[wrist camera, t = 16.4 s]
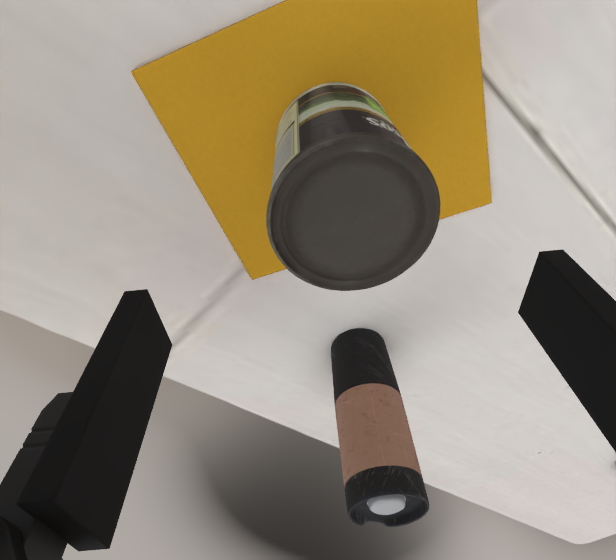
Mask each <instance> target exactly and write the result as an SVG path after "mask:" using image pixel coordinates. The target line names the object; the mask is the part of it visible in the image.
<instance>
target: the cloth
mask: <svg viewBox="0 0 616 560" xmlns="http://www.w3.org/2000/svg"><path fill="white" fill-rule="evenodd" d="M131 73H132V74H133V76H134V78H135V80H136V81H137V83H138V85H139V87H140V88H141V90H142V92H143V93H144V95H145V97H146V99H147V100H148V102H149V104H150V105H151V107H152V109H153V111H154V112H155V114H156V116H157V117H158V119H159V121H160V123H161V124H162V126H163V128H164V129H165V131H166V133H167V135H168V136H169V138H170V140H171V141H172V143H173V145H174V147H175V148H176V150H177V152H178V153H179V155H180V157H181V159H182V160H183V162H184V164H185V165H186V167H187V169H188V171H189V172H190V174H191V176H192V177H193V179H194V181H195V183H196V184H197V186H198V188H199V189H200V191H201V193H202V195H203V196H204V198H205V200H206V201H207V203H208V205H209V207H210V208H211V210H212V212H213V214H214V215H215V217H216V219H217V220H218V222H219V224H220V226H221V227H222V229H223V231H224V232H225V234H226V236H227V238H228V239H229V241H230V243H231V244H232V246H233V248H234V250H235V251H236V253H237V255H238V256H239V258H240V260H241V262H242V263H243V265H244V267H245V268H246V270H247V272H248V274H249V275H250V277H251V279H252V280H253V279H256V278H259V277H262V276H265V275H268V274H272V273H275V272H278V271H281V270H284V269H287V268H286V267H285V266H284V265H283V264H282V262H281V261H280V260H279V259H278V257H277V255H276V254H275V252H274V250H273V248H272V246H271V244H270V241H269V237H268V233H267V226H266V212H267V205H268V201H269V197H270V193H271V186H272V178H273V169H274V159H275V150H276V148H275V140H276V133H277V128H278V125H279V122H280V120H281V118H282V115H283V114H284V112H285V110H286V109H287V107H288V106H289V105H290V104H291V102H292V101H293V100H294V99H295V98H296V97H298V96H299V95H300V94H302V93H303V92H305V91H306V90H308V89H310V88H312V87H314V86H317V85H320V84H324V83H330V82H344V83H348V84H352V85H355V86H358V87H360V88H362V89H364V90H365V91H367V92H369V93H370V94H371V95H372V96H373V97H375V98H376V99H377V101H378V102H379V103H380V104H381V106H382V107H383V109H384V110H385V113H386V114H387V116H388V117H389V119H390V120H391V121H392V123H393V124H394V126H395V127H396V128H397V130H398V131H399V132H400V134H401V135H402V137H403V138H404V139H405V141H406V142H407V143H408V145H409V146H410V147H411V149H412V150H413V151H414V152H415V153H416V154H417V155H418V156H419V157H420V158H421V159H422V160H423V161H424V162H425V164H426V165H427V166H428V168H429V169H430V171H431V173H432V174H433V176H434V178H435V181H436V184H437V186H438V190H439V195H440V203H441V205H440V216H439V220H440V219H443V218H446V217H449V216H452V215H455V214H458V213H461V212H465V211H468V210H471V209H474V208H477V207H480V206H483V205H486V204H489V203H492V202H491V188H490V175H489V161H488V147H487V134H486V120H485V107H484V93H483V79H482V66H481V52H480V39H479V25H478V11H477V0H285V1H283V2H281V3H279V4H277V5H275V6H272V7H270V8H268V9H266V10H264V11H262V12H259V13H257V14H255V15H253V16H251V17H248V18H246V19H244V20H242V21H240V22H238V23H235V24H233V25H231V26H229V27H227V28H225V29H222V30H220V31H218V32H216V33H214V34H211V35H209V36H207V37H205V38H203V39H201V40H198V41H196V42H194V43H192V44H190V45H187V46H185V47H183V48H181V49H179V50H177V51H174V52H172V53H170V54H168V55H166V56H164V57H161V58H159V59H157V60H155V61H153V62H150V63H148V64H146V65H144V66H142V67H140V68H137V69H135V70H133V71H131Z"/></svg>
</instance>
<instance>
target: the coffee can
mask: <svg viewBox="0 0 616 560" xmlns="http://www.w3.org/2000/svg"><path fill="white" fill-rule="evenodd" d="M275 148H276V150H275V159H274V169H273V178H272V186H271V193H270V197H269V201H268V205H267V212H266V226H267V233H268V237H269V241H270V244H271V246H272V248H273V250H274V252H275V254H276V255H277V257H278V259H279V260H280V261H281V262H282V264H283V265H284V266H285V267H286V268H287V269H288V270H289V271H290V272H291V273H293V274H294V275H295V276H297V277H298V278H300V279H302V280H303V281H305V282H307V283H310V284H312V285H315V286H318V287H321V288H325V289H330V290H340V291H350V290H360V289H367V288H371V287H375V286H377V285H380V284H383V283H386V282H388V281H390V280H392V279H394V278H395V277H397V276H399V275H400V274H401V273H403V272H404V271H406V270H407V269H408V268H410V267H411V266H412V265H413V264H414V263H415V262H416V261H417V260H418V259H419V258H420V257H421V256H422V255H423V253H424V252H425V251H426V249H427V248H428V246H429V244H430V243H431V241H432V239H433V237H434V235H435V232H436V229H437V226H438V222H439V216H440V205H441V203H440V195H439V190H438V186H437V184H436V181H435V178H434V176H433V174H432V173H431V171H430V169H429V168H428V166H427V165H426V164H425V162H424V161H423V160H422V159H421V158H420V157H419V156H418V155H417V154H416V153H415V152H414V151H413V150H412V149H411V147H410V146H409V145H408V143H407V142H406V141H405V139H404V138H403V137H402V135H401V134H400V132H399V131H398V130H397V128H396V127H395V126H394V124H393V123H392V121H391V120H390V119H389V117H388V116H387V114H386V113H385V110H384V109H383V107H382V106H381V104H380V103H379V102H378V101H377V99H376V98H375V97H373V96H372V95H371V94H370V93H369V92H367V91H365V90H364V89H362V88H360V87H358V86H355V85H352V84H348V83H344V82H330V83H324V84H320V85H317V86H314V87H312V88H310V89H308V90H306V91H305V92H303V93H302V94H300V95H299V96H298V97H296V98H295V99H294V100H293V101H292V102H291V104H290V105H289V106H288V107H287V109H286V110H285V112H284V114H283V115H282V118H281V120H280V122H279V125H278V128H277V133H276V140H275Z"/></svg>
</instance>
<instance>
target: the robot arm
mask: <svg viewBox="0 0 616 560" xmlns="http://www.w3.org/2000/svg"><path fill="white" fill-rule="evenodd" d="M518 313H519V314H520V316H521V317H522V319H523V320H524V322H525V323H526V324H527V326H528V327H529V329H530V330H531V332H532V333H533V334H534V336H535V337H536V339H537V340H538V342H539V343H540V344H541V346H542V347H543V349H544V350H545V352H546V353H547V354H548V356H549V357H550V359H551V360H552V362H553V363H554V364H555V366H556V367H557V369H558V370H559V372H560V373H561V374H562V376H563V377H564V379H565V380H566V382H567V383H568V384H569V386H570V387H571V389H572V390H573V392H574V393H575V394H576V396H577V397H578V399H579V400H580V402H581V403H582V405H583V406H584V407H585V409H586V410H587V412H588V413H589V415H590V416H591V417H592V419H593V420H594V422H595V423H596V425H597V426H598V427H599V429H600V430H601V432H602V433H603V435H604V436H605V437H606V439H607V440H608V442H609V443H610V445H611V446H612V447H613V449H614V450H615V452H616V301H615V300H614V299H613V298H612V297H611V296H610V295H609V294H608V293H607V292H606V291H605V290H604V289H603V288H602V287H601V286H600V285H599V284H598V283H597V282H596V281H594V280H593V279H592V278H591V277H590V276H589V275H588V274H587V273H586V272H585V271H584V270H583V269H582V268H581V267H580V266H579V265H578V264H577V263H576V262H575V261H574V260H573V259H572V258H571V257H570V256H569V255H568V254H567V253H566V252H565V251H564V250H553V251H543V252H539V255H538V258H537V260H536V263H535V266H534V269H533V272H532V275H531V277H530V280H529V283H528V286H527V289H526V292H525V294H524V297H523V300H522V303H521V306H520V309H519V311H518ZM171 347H172V343H171V341H170V339H169V337H168V334H167V332H166V330H165V328H164V325H163V323H162V321H161V319H160V317H159V314H158V312H157V310H156V308H155V305H154V303H153V301H152V299H151V297H150V294H149V292H148V290H147V289H146V290H135V291H125V292H124V294H123V296H122V298H121V300H120V302H119V304H118V306H117V308H116V310H115V312H114V313H113V315H112V317H111V319H110V321H109V323H108V325H107V327H106V329H105V331H104V333H103V335H102V337H101V339H100V341H99V343H98V345H97V347H96V349H95V351H94V353H93V355H92V356H91V358H90V361H89V362H88V364H87V366H86V368H85V370H84V372H83V374H82V376H81V378H80V380H79V382H78V384H77V386H76V388H75V390H74V392H68V393H58V394H57V395H56V396H55V397H54V399H53V400H52V401H51V402H50V403H49V404H48V405H47V406H46V407H45V408H44V409H43V410H42V411H41V413H40V415H39V417H38V418H37V420H36V422H35V424H34V426H33V427H32V432H31V433H29V434H28V436H27V438H26V440H25V442H24V443H23V448H22V449H20V451H19V452H18V454H17V456H16V458H15V459H14V461H13V463H12V465H11V466H10V468H9V470H8V472H7V474H6V476H5V477H4V479H3V481H2V482H1V484H0V560H63V559H62V556H63V553H64V550H65V548H66V545H67V543H68V544H70V545H71V546H72V547H74V548H75V549H76V550H78V551H86V550H99V549H109V548H110V545H111V542H112V538H113V535H114V532H115V529H116V526H117V522H118V519H119V516H120V513H121V509H122V506H123V503H124V500H125V496H126V493H127V490H128V487H129V483H130V480H131V477H132V474H133V470H134V467H135V464H136V461H137V457H138V454H139V450H140V448H141V444H142V441H143V438H144V435H145V431H146V428H147V425H148V422H149V418H150V415H151V412H152V409H153V405H154V402H155V399H156V395H157V392H158V389H159V386H160V383H161V379H162V376H163V373H164V370H165V366H166V363H167V360H168V357H169V353H170V350H171Z"/></svg>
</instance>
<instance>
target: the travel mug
mask: <svg viewBox="0 0 616 560" xmlns="http://www.w3.org/2000/svg"><path fill="white" fill-rule="evenodd" d="M331 358H332V373H333V386H334V400H335V412H336V420H337V429H338V437H339V445H340V454H341V462H342V471H343V479H344V487H345V496H346V504H347V512H348V516H349V518H350V520H351V521H352V522H354V523H356V524H358V525H360V526H362V525H364V523H365V522H368V521H376V522H380V523H382V524H383V525H385V526H386V527H398V526H403V525H406V524H409V523H412V522H414V521H417V520H419V519H420V518H422V517H423V516H424V515H425V514H426V513H427V512H428V510H429V501H428V497H427V493H426V490H425V486H424V482H423V478H422V474H421V470H420V467H419V463H418V459H417V455H416V451H415V447H414V443H413V440H412V436H411V432H410V428H409V424H408V420H407V416H406V413H405V409H404V405H403V401H402V397H401V394H400V391H399V387H398V384H397V381H396V378H395V375H394V371H393V368H392V365H391V362H390V358H389V355H388V352H387V349H386V346H385V343H384V340H383V338H382V337H381V336H380V335H379V334H378V333H376V332H374V331H372V330H369V329H353V330H349V331H346V332H344V333H342V334H341V335H339V336H338V337H337V338H336V339H335V340H334V342H333V344H332V347H331Z"/></svg>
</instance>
